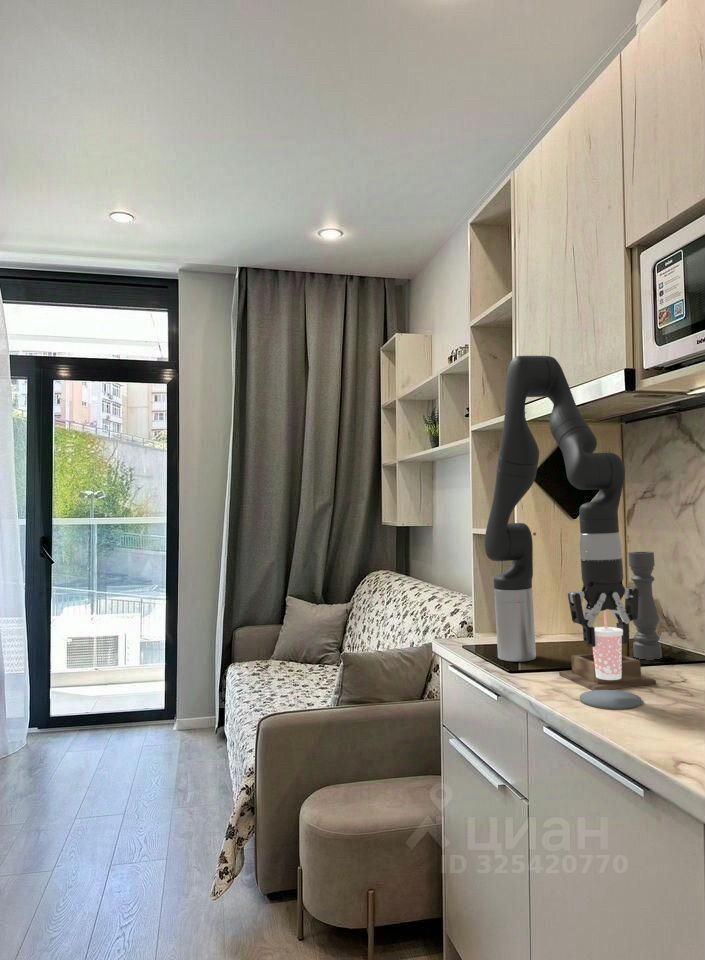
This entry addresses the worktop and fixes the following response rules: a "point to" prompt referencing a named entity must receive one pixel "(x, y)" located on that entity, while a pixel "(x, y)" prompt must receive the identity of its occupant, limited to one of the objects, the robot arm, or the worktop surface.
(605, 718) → the worktop surface
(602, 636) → the beverage cup
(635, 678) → the stepped square tray
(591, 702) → the slate coaster
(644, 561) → the candle holder
